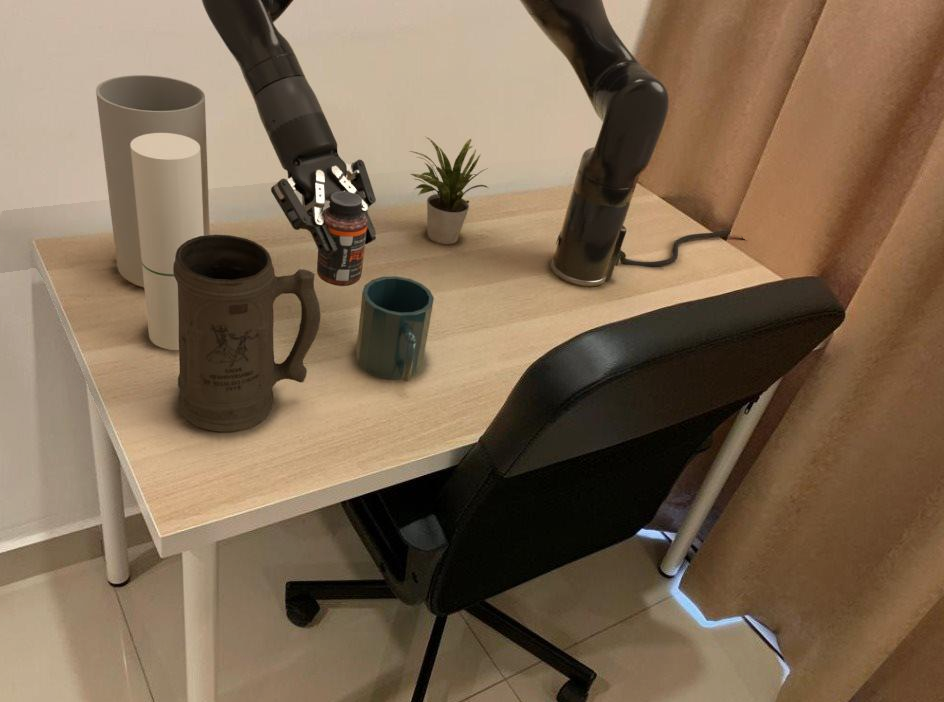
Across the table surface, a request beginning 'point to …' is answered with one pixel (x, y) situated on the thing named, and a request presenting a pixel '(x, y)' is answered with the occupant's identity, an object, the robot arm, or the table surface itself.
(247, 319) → the beer stein
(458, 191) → the house plant
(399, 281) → the mug
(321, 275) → the supplement bottle
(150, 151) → the cylindrical container
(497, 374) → the table surface
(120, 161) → the cylinder vase
